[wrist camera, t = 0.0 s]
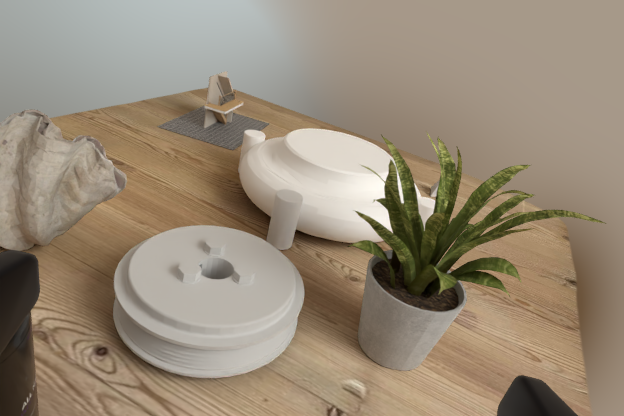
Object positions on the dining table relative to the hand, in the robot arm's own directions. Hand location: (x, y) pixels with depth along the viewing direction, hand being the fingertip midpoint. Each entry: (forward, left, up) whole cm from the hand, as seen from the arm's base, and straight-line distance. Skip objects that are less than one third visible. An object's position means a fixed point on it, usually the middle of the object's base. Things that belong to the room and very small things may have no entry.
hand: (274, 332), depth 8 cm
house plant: (+21, -10, -17) cm, 29 cm away
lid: (+19, +5, -17) cm, 26 cm away
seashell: (+23, +22, -17) cm, 36 cm away
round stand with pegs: (+41, -2, -17) cm, 44 cm away
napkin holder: (+59, +16, -17) cm, 63 cm away
